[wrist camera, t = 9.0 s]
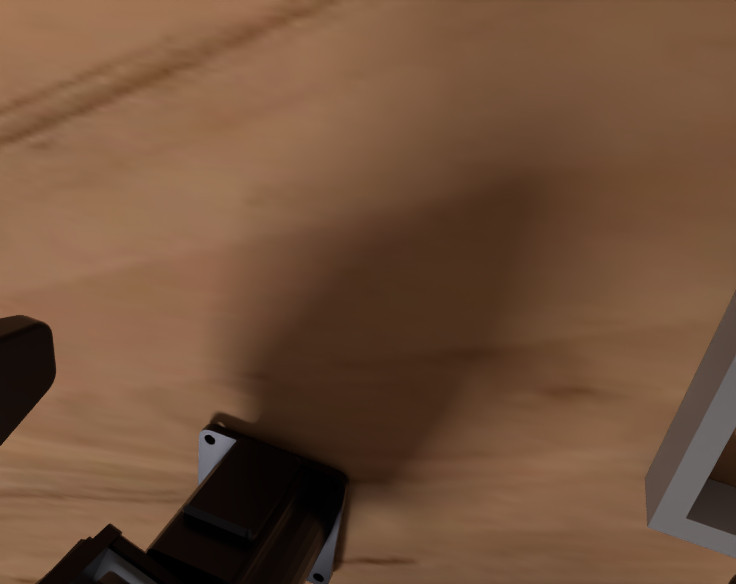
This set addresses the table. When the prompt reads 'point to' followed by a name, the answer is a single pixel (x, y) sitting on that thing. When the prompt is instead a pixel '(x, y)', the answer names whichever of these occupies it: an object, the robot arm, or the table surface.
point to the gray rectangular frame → (699, 453)
